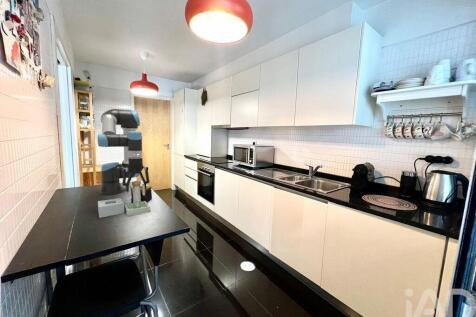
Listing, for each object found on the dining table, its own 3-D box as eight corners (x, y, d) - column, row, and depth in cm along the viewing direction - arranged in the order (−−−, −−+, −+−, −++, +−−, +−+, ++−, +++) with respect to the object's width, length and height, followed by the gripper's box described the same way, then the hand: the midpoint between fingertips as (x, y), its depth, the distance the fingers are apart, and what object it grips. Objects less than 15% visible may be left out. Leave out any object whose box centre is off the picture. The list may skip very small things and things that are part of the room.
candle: (145, 204, 134) (145, 189, 133) (130, 203, 134) (130, 189, 133) (152, 199, 144) (152, 185, 143) (138, 199, 144) (138, 185, 143)
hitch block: (98, 211, 120) (97, 201, 119) (121, 207, 127) (120, 198, 126) (99, 217, 110) (98, 207, 110) (124, 213, 118) (123, 203, 117)
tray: (124, 209, 123) (124, 204, 123) (145, 206, 130) (145, 201, 130) (127, 216, 113) (127, 210, 113) (150, 211, 121) (150, 206, 120)
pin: (132, 209, 122) (131, 181, 120) (140, 207, 125) (139, 180, 123) (133, 211, 118) (132, 183, 117) (142, 210, 121) (141, 182, 119)
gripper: (116, 159, 109) (118, 200, 112) (154, 157, 121) (155, 194, 124) (115, 157, 115) (116, 196, 118) (151, 156, 127) (152, 191, 130)
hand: (136, 195), depth 121 cm, fingers open, 7 cm apart
